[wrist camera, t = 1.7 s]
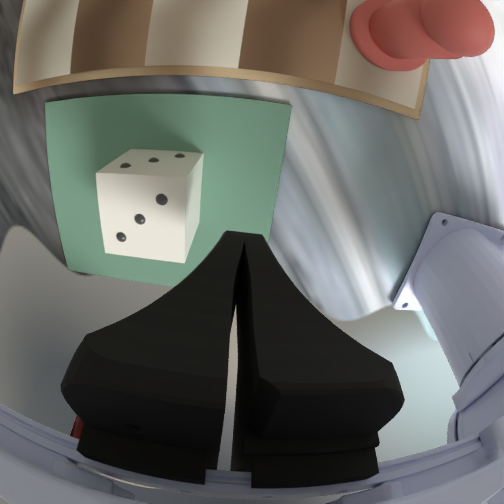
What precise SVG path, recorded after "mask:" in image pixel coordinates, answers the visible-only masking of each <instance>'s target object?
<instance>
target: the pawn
mask: <svg viewBox="0 0 504 504" xmlns="http://www.w3.org/2000/svg"><path fill="white" fill-rule="evenodd" d="M349 28H350V34H351V38H352V41H353V43H354V45H355V47H356V48H357V50H358V51H359V52H360V54H361V55H362V56H363V57H364V58H365V59H366V60H367V61H369V62H370V63H371V64H373V65H375V66H376V67H378V68H381V69H384V70H388V71H411V70H415V69H417V68H419V67H420V66H422V65H423V64H424V63H425V62H426V60H427V59H458V58H461V57H463V56H464V57H474V56H478V55H481V54H483V53H485V52H486V51H487V50H488V49H489V48H490V47H491V45H492V43H493V40H494V35H495V29H494V23H493V20H492V17H491V15H490V13H489V11H488V10H487V8H486V7H485V6H484V4H483V3H482V2H481V1H480V0H366V1H365V2H363V3H362V4H360V5H359V6H358V7H357V8H356V9H355V10H354V11H353V13H352V15H351V18H350V25H349Z"/></svg>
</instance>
